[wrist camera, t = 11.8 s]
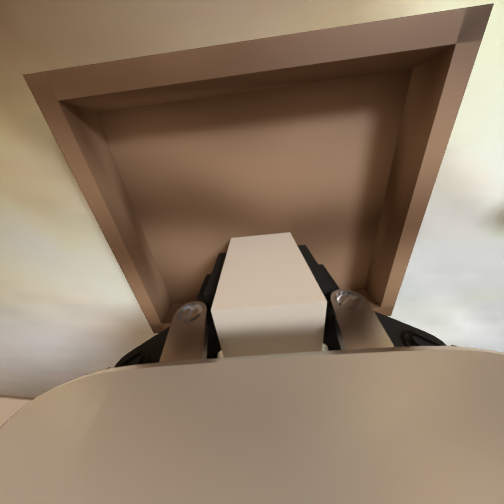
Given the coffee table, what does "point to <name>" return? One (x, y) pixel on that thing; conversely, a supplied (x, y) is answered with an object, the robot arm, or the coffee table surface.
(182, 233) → the walnut tray
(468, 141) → the coffee table surface
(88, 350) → the coffee table surface
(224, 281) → the beige brick
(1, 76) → the coffee table surface
